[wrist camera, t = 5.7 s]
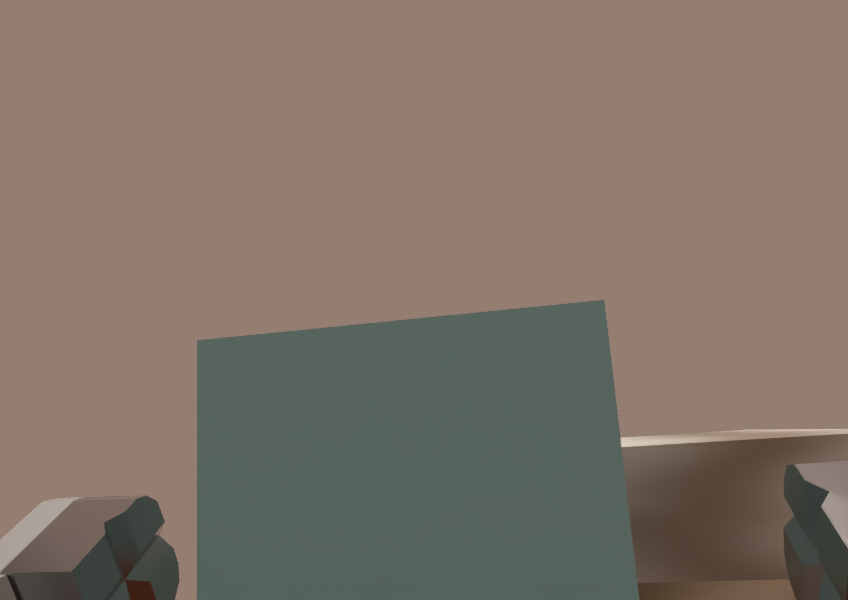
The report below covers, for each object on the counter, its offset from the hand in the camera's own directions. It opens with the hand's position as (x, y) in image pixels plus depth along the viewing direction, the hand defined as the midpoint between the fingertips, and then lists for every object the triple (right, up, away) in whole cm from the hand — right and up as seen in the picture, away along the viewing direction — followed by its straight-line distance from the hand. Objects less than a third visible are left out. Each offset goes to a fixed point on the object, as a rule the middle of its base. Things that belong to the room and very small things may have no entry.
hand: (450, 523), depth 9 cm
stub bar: (+2, -3, +6) cm, 7 cm away
